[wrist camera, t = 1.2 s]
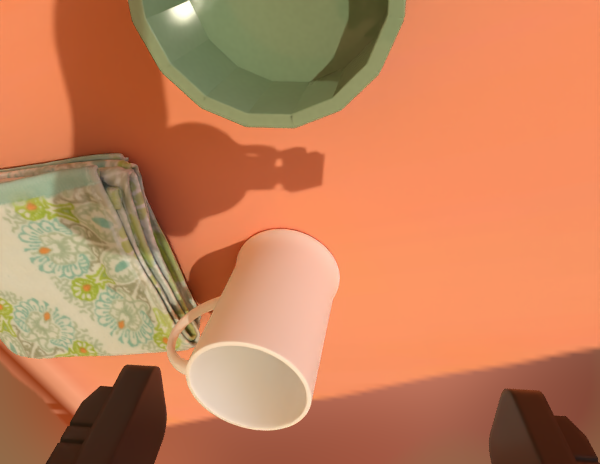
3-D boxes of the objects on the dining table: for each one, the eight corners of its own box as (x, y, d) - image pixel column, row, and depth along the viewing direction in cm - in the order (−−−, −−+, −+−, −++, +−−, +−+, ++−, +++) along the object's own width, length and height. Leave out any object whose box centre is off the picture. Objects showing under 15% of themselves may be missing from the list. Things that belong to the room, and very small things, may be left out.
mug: (212, 309, 45) (155, 424, 35) (189, 228, 40) (116, 333, 30) (344, 313, 42) (322, 439, 32) (334, 227, 37) (306, 342, 28)
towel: (217, 325, 46) (197, 367, 41) (29, 333, 51) (-5, 371, 47) (141, 139, 36) (105, 170, 32) (-76, 175, 42) (-130, 205, 38)
